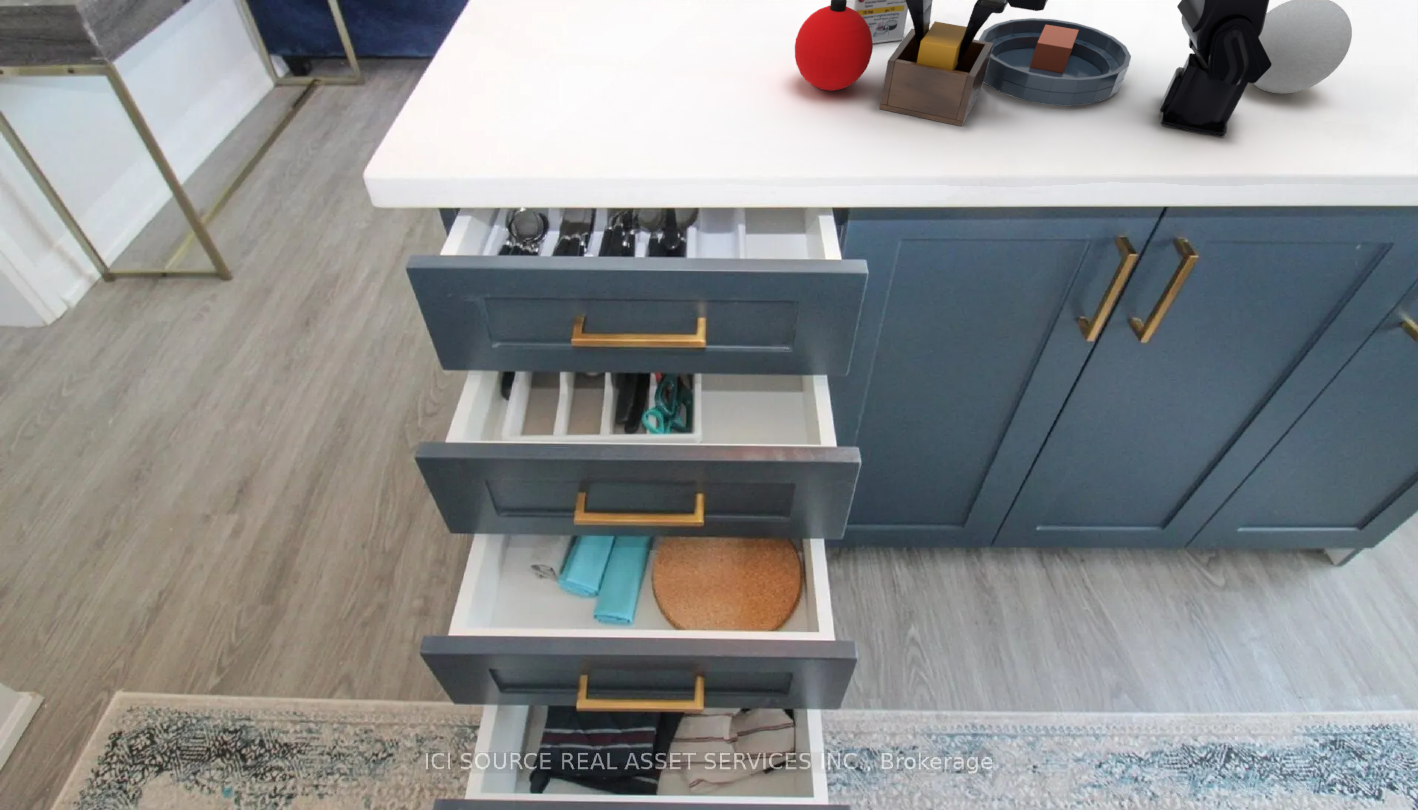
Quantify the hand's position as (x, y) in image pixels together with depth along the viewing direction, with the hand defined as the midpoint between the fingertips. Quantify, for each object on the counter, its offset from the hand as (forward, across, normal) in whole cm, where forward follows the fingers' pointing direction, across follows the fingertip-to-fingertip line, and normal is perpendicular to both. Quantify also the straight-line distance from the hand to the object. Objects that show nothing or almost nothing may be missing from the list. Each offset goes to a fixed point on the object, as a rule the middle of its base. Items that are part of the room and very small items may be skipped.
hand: (940, 57), depth 85 cm
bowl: (+5, -11, -12) cm, 17 cm away
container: (+5, +13, -15) cm, 20 cm away
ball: (+5, -36, -20) cm, 41 cm away
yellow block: (0, 0, 0) cm, 0 cm away
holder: (+5, 0, 0) cm, 5 cm away
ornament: (+5, +12, +2) cm, 13 cm away
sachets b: (+4, -11, -16) cm, 20 cm away
